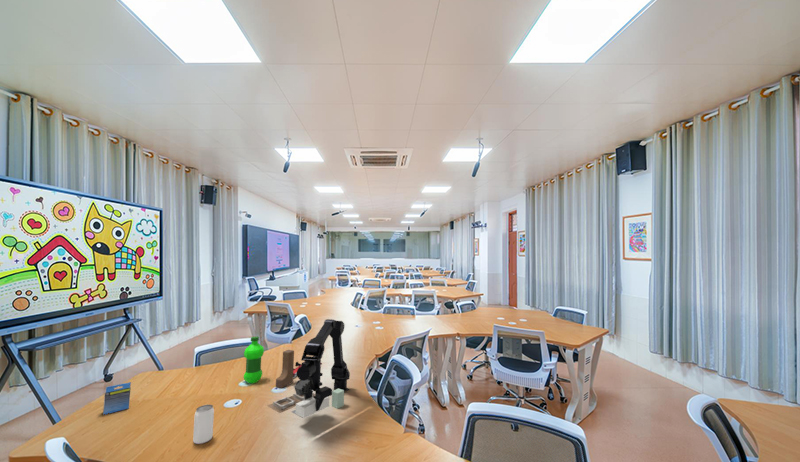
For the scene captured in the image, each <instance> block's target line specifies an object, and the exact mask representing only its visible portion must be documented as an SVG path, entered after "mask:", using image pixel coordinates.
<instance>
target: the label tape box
mask: <svg viewBox="0 0 800 462" xmlns="http://www.w3.org/2000/svg"><path fill="white" fill-rule="evenodd" d="M131 383H132V381H131V382H130V381H129V382H126V383H119V384H115V385H109V386H106V387H105V392H104V398H103V409H102V412H103V413H102V414H103V415H104V414H105V415H108V413H109V414H112V413H116V412H119V411H123V410H128V409H130V402H131V401H130V398H131ZM118 387H119V388H118Z"/></svg>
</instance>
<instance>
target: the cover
mask: <svg viewBox="0 0 800 462" xmlns="http://www.w3.org/2000/svg"><path fill="white" fill-rule="evenodd" d="M313 397H314V396H313ZM313 397H310V398H308V399H306V400H303V401H301V402H299V403H296V406H295V410H296V414H297V415H296V414H295V415H296V416H298V415H299V416H298V417H300V416H301V417H300V418H302V417H303V419H305V418H307V417H309V416H311V415H314V414H315V413H318V412H320V411H322V410H325V409H326V408H328V407H329V406H330V396H328V397H326V398H324V400H323V402H322V404H321V406H320V408H319V410H318V411H316V402H315V399H314V398H313Z"/></svg>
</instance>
